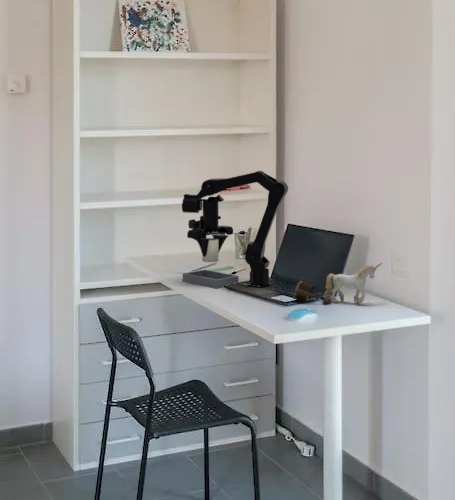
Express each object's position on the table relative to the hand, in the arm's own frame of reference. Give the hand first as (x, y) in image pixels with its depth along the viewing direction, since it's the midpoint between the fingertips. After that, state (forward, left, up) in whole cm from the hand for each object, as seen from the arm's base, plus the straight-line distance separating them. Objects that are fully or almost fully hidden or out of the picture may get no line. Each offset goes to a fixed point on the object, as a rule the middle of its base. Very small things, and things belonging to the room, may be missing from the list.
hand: (210, 255), depth 328 cm
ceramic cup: (0, 0, -2) cm, 2 cm away
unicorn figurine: (-56, -12, -10) cm, 58 cm away
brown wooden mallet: (-47, -1, -11) cm, 48 cm away
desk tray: (0, 0, -10) cm, 10 cm away
